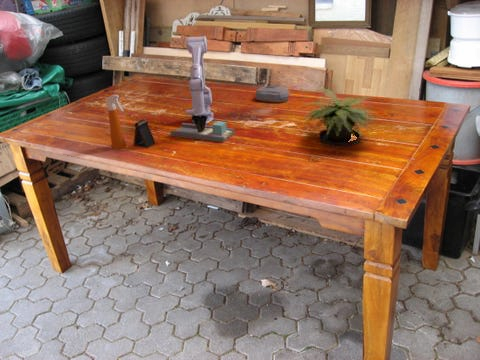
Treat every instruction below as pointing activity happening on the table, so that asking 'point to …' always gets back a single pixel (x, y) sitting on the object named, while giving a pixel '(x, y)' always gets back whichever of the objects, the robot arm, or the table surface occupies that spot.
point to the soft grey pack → (272, 94)
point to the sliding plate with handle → (211, 131)
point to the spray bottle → (115, 123)
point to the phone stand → (143, 135)
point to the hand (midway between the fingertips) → (201, 129)
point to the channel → (191, 130)
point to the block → (219, 128)
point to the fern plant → (340, 120)
